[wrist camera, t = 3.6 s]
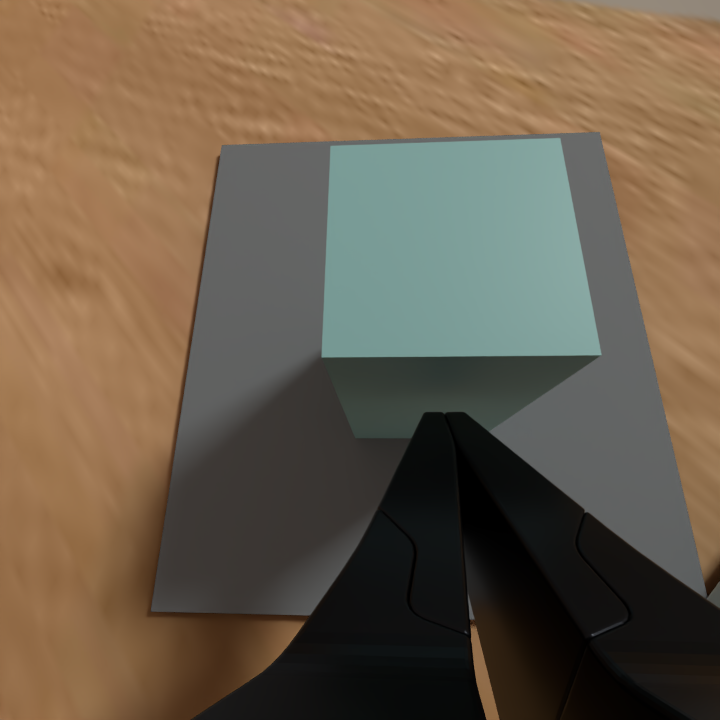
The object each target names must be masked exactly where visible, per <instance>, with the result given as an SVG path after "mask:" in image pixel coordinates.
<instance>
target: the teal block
mask: <svg viewBox="0 0 720 720" xmlns="http://www.w3.org/2000/svg"><path fill="white" fill-rule="evenodd" d="M601 355H602V354H601V349H600V344H599V339H598V333H597V328H596V323H595V318H594V312H593V307H592V302H591V297H590V292H589V286H588V281H587V276H586V271H585V265H584V260H583V255H582V250H581V244H580V239H579V234H578V229H577V223H576V218H575V213H574V208H573V202H572V197H571V192H570V187H569V182H568V176H567V171H566V166H565V161H564V155H563V150H562V145H561V140H560V138H545V139H516V140H487V141H457V142H428V143H399V144H369V145H340V146H331V147H330V171H329V194H328V218H327V241H326V264H325V288H324V311H323V335H322V360H323V362H324V365H325V367H326V369H327V372H328V374H329V377H330V379H331V381H332V384H333V386H334V388H335V391H336V393H337V396H338V398H339V400H340V403H341V405H342V408H343V410H344V412H345V415H346V417H347V420H348V422H349V424H350V427H351V429H352V432H353V434H354V436H355V438H412V436H413V434H414V432H415V429H416V427H417V425H418V423H419V421H420V419H421V417H422V415H423V413H425V412H443V413H444V414H445V413H446V412H465V413H466V414H468V415H469V416H470V417H471V418H473V419H474V420H475V421H476V422H478V423H479V424H480V425H481V426H483V427H484V428H485V429H486V430H488V431H490V430H492V429H493V428H495V427H496V426H498V425H499V424H501V423H502V422H504V421H505V420H507V419H508V418H510V417H511V416H513V415H514V414H516V413H517V412H519V411H520V410H522V409H523V408H524V407H526V406H527V405H529V404H530V403H532V402H533V401H535V400H536V399H538V398H539V397H541V396H542V395H544V394H545V393H547V392H548V391H550V390H551V389H553V388H554V387H556V386H557V385H558V384H560V383H561V382H563V381H564V380H566V379H567V378H569V377H570V376H572V375H573V374H575V373H576V372H578V371H579V370H581V369H582V368H584V367H585V366H587V365H588V364H590V363H591V362H593V361H594V360H595V359H597V358H598V357H600V356H601Z"/></svg>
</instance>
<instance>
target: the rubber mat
mask: <svg viewBox="0 0 720 720" xmlns="http://www.w3.org/2000/svg"><path fill="white" fill-rule="evenodd" d="M545 138H560V140H561V145H562V150H563V155H564V161H565V166H566V171H567V176H568V182H569V187H570V192H571V197H572V202H573V208H574V213H575V218H576V223H577V229H578V234H579V239H580V244H581V250H582V255H583V260H584V265H585V271H586V276H587V281H588V286H589V292H590V297H591V302H592V307H593V312H594V318H595V323H596V328H597V333H598V339H599V344H600V349H601V354H602V355H601V356H600V357H598V358H597V359H595V360H594V361H593V362H591V363H590V364H588V365H587V366H585V367H584V368H582V369H581V370H579V371H578V372H576V373H575V374H573V375H572V376H570V377H569V378H567V379H566V380H564V381H563V382H561V383H560V384H558V385H557V386H556V387H554V388H553V389H551V390H550V391H548V392H547V393H545V394H544V395H542V396H541V397H539V398H538V399H536V400H535V401H533V402H532V403H530V404H529V405H527V406H526V407H524V408H523V409H522V410H520V411H519V412H517V413H516V414H514V415H513V416H511V417H510V418H508V419H507V420H505V421H504V422H502V423H501V424H499V425H498V426H496V427H495V428H493V429H492V430H490V431H489V432H490V433H491V434H492V435H494V436H495V437H496V438H497V439H499V440H500V441H501V442H502V443H504V444H505V445H506V446H507V447H509V448H510V449H511V450H512V451H513V452H515V453H516V454H517V455H518V456H520V457H521V458H522V459H523V460H525V461H526V462H527V463H528V464H530V465H531V466H532V467H533V468H535V469H536V470H537V471H538V472H539V473H541V474H542V475H543V476H544V477H546V478H547V479H548V480H549V481H551V482H552V483H553V484H554V485H556V486H557V487H558V488H559V489H560V490H562V491H563V492H564V493H565V494H567V495H568V496H569V497H570V498H572V499H573V500H574V501H575V502H577V503H578V504H579V505H580V506H582V507H583V508H584V509H585V512H589V513H590V514H592V515H593V516H594V517H595V518H597V519H598V520H599V521H600V522H602V523H603V524H604V525H605V526H607V527H608V528H609V529H610V530H612V531H613V532H614V533H616V534H617V535H618V536H619V537H621V538H622V539H623V540H625V541H626V542H627V543H628V544H630V545H631V546H632V547H634V548H635V549H636V550H638V551H639V552H640V553H642V554H643V555H645V556H646V557H647V558H649V559H650V560H652V561H653V562H654V563H656V564H657V565H659V566H660V567H661V568H663V569H664V570H666V571H667V572H668V573H670V574H671V575H673V576H674V577H675V578H677V579H678V580H680V581H681V582H683V583H684V584H686V585H687V586H688V587H690V588H691V589H693V590H694V591H696V592H697V593H698V594H700V595H701V596H703V597H704V598H706V599H707V598H708V597H707V593H706V588H705V584H704V580H703V575H702V571H701V567H700V562H699V558H698V554H697V550H696V545H695V541H694V537H693V532H692V528H691V524H690V519H689V515H688V511H687V507H686V502H685V498H684V494H683V489H682V485H681V481H680V476H679V472H678V468H677V464H676V459H675V455H674V451H673V446H672V442H671V438H670V433H669V429H668V425H667V420H666V416H665V412H664V408H663V403H662V399H661V395H660V390H659V386H658V382H657V377H656V373H655V369H654V365H653V360H652V356H651V352H650V347H649V343H648V339H647V334H646V330H645V326H644V321H643V317H642V313H641V309H640V304H639V300H638V296H637V291H636V287H635V283H634V278H633V274H632V270H631V266H630V261H629V257H628V253H627V248H626V244H625V240H624V235H623V231H622V227H621V223H620V218H619V214H618V210H617V205H616V201H615V197H614V192H613V188H612V184H611V179H610V175H609V171H608V167H607V162H606V158H605V154H604V149H603V145H602V141H601V136H600V132H589V133H560V134H531V135H503V136H474V137H445V138H416V139H387V140H358V141H329V142H301V143H272V144H243V145H222V148H221V154H220V161H219V167H218V174H217V180H216V187H215V193H214V200H213V207H212V213H211V220H210V226H209V233H208V239H207V246H206V252H205V259H204V265H203V272H202V279H201V285H200V292H199V298H198V305H197V311H196V318H195V324H194V331H193V338H192V344H191V351H190V357H189V364H188V370H187V377H186V383H185V390H184V396H183V403H182V410H181V416H180V423H179V429H178V436H177V442H176V449H175V455H174V462H173V469H172V475H171V482H170V488H169V495H168V501H167V508H166V514H165V521H164V527H163V534H162V541H161V547H160V554H159V560H158V567H157V573H156V580H155V586H154V593H153V600H152V606H151V611H152V612H192V613H232V614H273V615H311V613H312V612H313V610H314V609H315V608H316V606H317V605H318V603H319V602H320V600H321V599H322V598H323V596H324V595H325V593H326V592H327V590H328V589H329V588H330V586H331V585H332V583H333V582H334V580H335V579H336V578H337V576H338V575H339V573H340V572H341V570H342V569H343V567H344V566H345V564H346V563H347V561H348V560H349V558H350V557H351V555H352V553H353V552H354V550H355V549H356V547H357V546H358V544H359V542H360V540H361V538H362V536H363V535H364V533H365V531H366V529H367V527H368V525H369V523H370V521H371V519H372V517H373V515H374V513H375V511H376V510H377V508H378V505H379V503H380V501H381V499H382V497H383V495H384V493H385V491H386V489H387V487H388V485H389V483H390V481H391V479H392V477H393V475H394V473H395V471H396V468H397V466H398V464H399V462H400V460H401V458H402V456H403V454H404V452H405V450H406V448H407V446H408V444H409V442H410V440H411V438H355V436H354V434H353V432H352V429H351V427H350V424H349V422H348V420H347V417H346V415H345V412H344V410H343V408H342V405H341V403H340V400H339V398H338V396H337V393H336V391H335V388H334V386H333V384H332V381H331V379H330V377H329V374H328V372H327V369H326V367H325V365H324V362H323V360H322V335H323V311H324V288H325V264H326V241H327V218H328V194H329V171H330V147H331V146H340V145H369V144H399V143H428V142H457V141H487V140H516V139H545ZM468 603H469V616H470V619H474V615H473V611H472V607H471V603H470V599H469V595H468ZM474 620H475V619H474Z"/></svg>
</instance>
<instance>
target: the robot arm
mask: <svg viewBox="0 0 720 720" xmlns="http://www.w3.org/2000/svg"><path fill="white" fill-rule="evenodd" d="M468 595H469V599H470V603H471V607H472V611H473V615H474V619H475V623H476V627H477V631H478V635H479V639H480V643H481V647H482V651H483V655H484V659H485V663H486V667H487V671H488V675H489V679H490V683H491V687H492V691H493V695H494V699H495V703H496V707H497V711H498V715H499V719H500V720H720V608H719V607H717V606H716V605H714V604H713V603H711V602H710V601H709V600H707V599H706V598H704V597H703V596H701V595H700V594H698V593H697V592H696V591H694V590H693V589H691V588H690V587H688V586H687V585H686V584H684V583H683V582H681V581H680V580H678V579H677V578H675V577H674V576H673V575H671V574H670V573H668V572H667V571H666V570H664V569H663V568H661V567H660V566H659V565H657V564H656V563H654V562H653V561H652V560H650V559H649V558H647V557H646V556H645V555H643V554H642V553H640V552H639V551H638V550H636V549H635V548H634V547H632V546H631V545H630V544H628V543H627V542H626V541H625V540H623V539H622V538H621V537H619V536H618V535H617V534H616V533H614V532H613V531H612V530H610V529H609V528H608V527H607V526H605V525H604V524H603V523H602V522H600V521H599V520H598V519H597V518H595V517H594V516H593V515H592V514H590V513H589V512H585V509H584V508H583V507H582V506H580V505H579V504H578V503H577V502H575V501H574V500H573V499H572V498H570V497H569V496H568V495H567V494H565V493H564V492H563V491H562V490H560V489H559V488H558V487H557V486H556V485H554V484H553V483H552V482H551V481H549V480H548V479H547V478H546V477H544V476H543V475H542V474H541V473H539V472H538V471H537V470H536V469H535V468H533V467H532V466H531V465H530V464H528V463H527V462H526V461H525V460H523V459H522V458H521V457H520V456H518V455H517V454H516V453H515V452H513V451H512V450H511V449H510V448H509V447H507V446H506V445H505V444H504V443H502V442H501V441H500V440H499V439H497V438H496V437H495V436H494V435H492V434H491V433H490V432H489V431H488V430H486V429H485V428H484V427H483V426H481V425H480V424H479V423H478V422H476V421H475V420H474V419H473V418H471V417H470V416H469V415H468V414H466V413H465V412H446V413H445V414H444V413H443V412H425V413H423V415H422V417H421V419H420V421H419V423H418V425H417V427H416V429H415V432H414V434H413V436H412V438H411V440H410V442H409V444H408V446H407V448H406V450H405V452H404V454H403V456H402V458H401V460H400V462H399V464H398V466H397V468H396V471H395V473H394V475H393V477H392V479H391V481H390V483H389V485H388V487H387V489H386V491H385V493H384V495H383V497H382V499H381V501H380V503H379V505H378V508H377V510H376V511H375V513H374V515H373V517H372V519H371V521H370V523H369V525H368V527H367V529H366V531H365V533H364V535H363V536H362V538H361V540H360V542H359V544H358V546H357V547H356V549H355V550H354V552H353V553H352V555H351V557H350V558H349V560H348V561H347V563H346V564H345V566H344V567H343V569H342V570H341V572H340V573H339V575H338V576H337V578H336V579H335V580H334V582H333V583H332V585H331V586H330V588H329V589H328V590H327V592H326V593H325V595H324V596H323V598H322V599H321V600H320V602H319V603H318V605H317V606H316V608H315V609H314V610H313V612H312V613H311V615H310V616H309V618H308V619H307V620H306V622H305V623H304V625H303V626H302V628H301V629H300V630H299V632H298V633H297V635H296V636H295V637H294V639H293V640H292V641H291V643H290V644H289V645H288V647H287V648H286V649H285V650H284V651H283V653H282V654H281V655H280V656H279V657H278V658H277V659H276V660H275V661H274V662H273V663H272V664H271V665H270V666H269V667H268V668H267V669H265V670H264V671H263V672H262V673H260V674H259V675H258V676H256V677H255V678H253V679H252V680H250V681H249V682H247V683H246V684H244V685H243V686H241V687H240V688H238V689H237V690H235V691H233V692H232V693H230V694H229V695H227V696H226V697H224V698H223V699H221V700H220V701H218V702H217V703H215V704H214V705H212V706H211V707H209V708H208V709H206V710H205V711H203V712H202V713H200V714H199V715H197V716H196V717H194V718H192V719H191V720H486V717H485V713H484V709H483V706H482V702H481V699H480V695H479V691H478V687H477V683H476V677H475V670H474V663H473V653H472V643H471V628H470V616H469V603H468Z"/></svg>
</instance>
